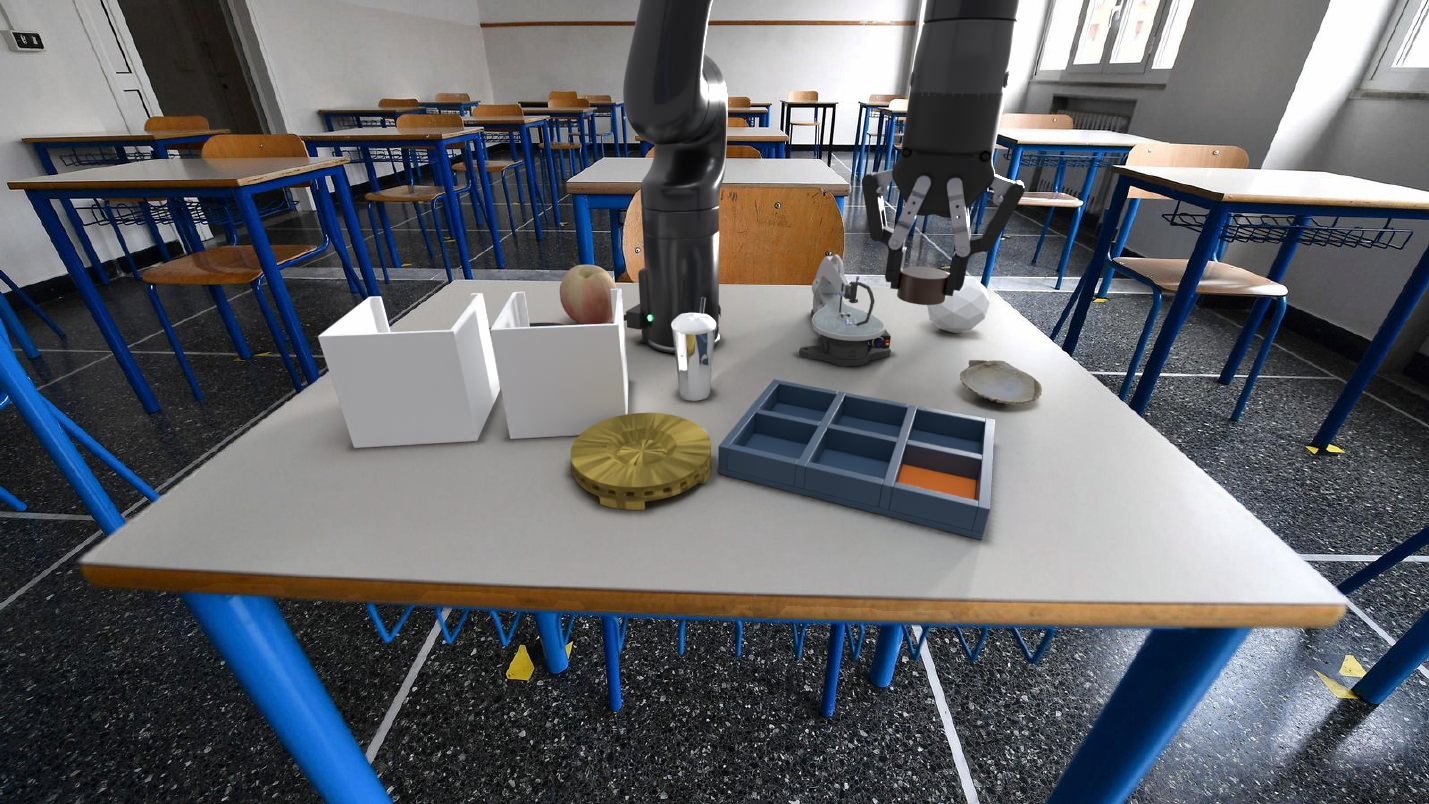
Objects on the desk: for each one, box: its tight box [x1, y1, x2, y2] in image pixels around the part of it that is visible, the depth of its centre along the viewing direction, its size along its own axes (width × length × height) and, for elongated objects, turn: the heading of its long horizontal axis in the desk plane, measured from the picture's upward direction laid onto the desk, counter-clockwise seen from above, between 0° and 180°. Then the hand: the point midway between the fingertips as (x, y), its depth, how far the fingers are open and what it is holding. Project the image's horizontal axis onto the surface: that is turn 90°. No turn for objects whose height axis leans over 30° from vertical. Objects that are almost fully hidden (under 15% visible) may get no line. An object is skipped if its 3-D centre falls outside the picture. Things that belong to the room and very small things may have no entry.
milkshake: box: [671, 297, 716, 402], centre depth 63 cm, size 4×5×10 cm
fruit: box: [559, 264, 618, 325], centre depth 83 cm, size 8×8×8 cm
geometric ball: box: [926, 275, 991, 335], centre depth 81 cm, size 8×8×8 cm
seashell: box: [959, 359, 1043, 405], centre depth 64 cm, size 8×3×8 cm
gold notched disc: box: [570, 412, 712, 511], centre depth 52 cm, size 12×12×2 cm
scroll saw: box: [798, 254, 892, 367], centre depth 77 cm, size 20×11×12 cm
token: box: [896, 266, 949, 306], centre depth 57 cm, size 4×4×2 cm
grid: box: [717, 379, 996, 541], centre depth 53 cm, size 21×14×3 cm
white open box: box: [317, 288, 629, 449], centre depth 59 cm, size 25×11×11 cm, turn 97°
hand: (921, 289), depth 57 cm, fingers closed on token, 4 cm apart
